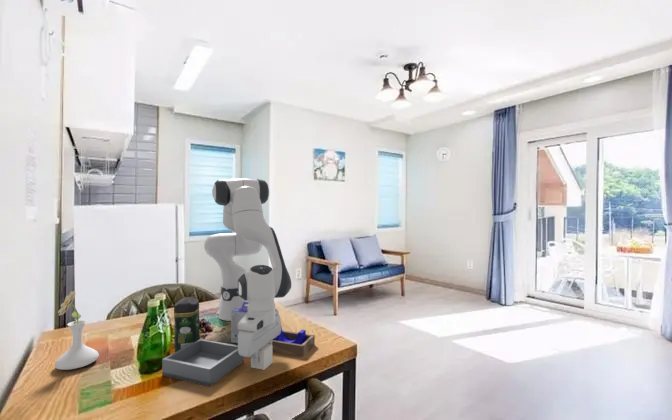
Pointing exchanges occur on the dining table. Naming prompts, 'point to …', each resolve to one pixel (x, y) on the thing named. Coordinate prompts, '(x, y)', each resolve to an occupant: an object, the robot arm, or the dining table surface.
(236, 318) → the ink cartridge box
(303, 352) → the organizer
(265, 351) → the block
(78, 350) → the flower in vase
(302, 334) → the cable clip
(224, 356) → the tray
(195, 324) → the coffee jar
